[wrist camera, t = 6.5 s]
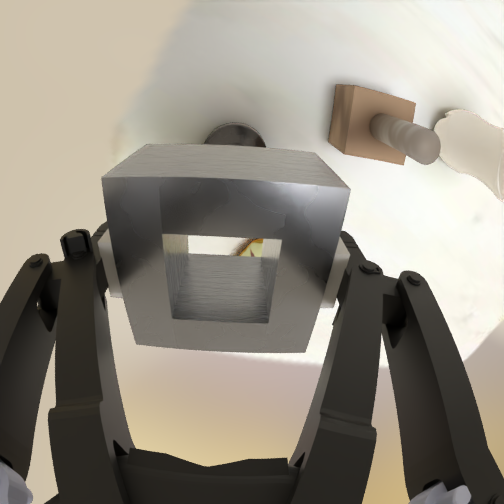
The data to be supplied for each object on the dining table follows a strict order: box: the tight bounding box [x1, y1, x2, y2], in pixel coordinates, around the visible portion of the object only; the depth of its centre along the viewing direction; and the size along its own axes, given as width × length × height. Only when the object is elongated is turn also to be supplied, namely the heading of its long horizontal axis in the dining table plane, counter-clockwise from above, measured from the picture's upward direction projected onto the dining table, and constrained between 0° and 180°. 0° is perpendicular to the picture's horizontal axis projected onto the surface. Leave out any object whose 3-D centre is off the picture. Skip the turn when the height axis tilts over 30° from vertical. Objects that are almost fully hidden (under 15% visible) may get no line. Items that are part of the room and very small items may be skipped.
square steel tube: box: [102, 144, 351, 353], centre depth 13 cm, size 8×8×5 cm
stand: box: [328, 84, 441, 165], centre depth 20 cm, size 6×6×12 cm
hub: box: [204, 123, 266, 148], centre depth 24 cm, size 6×6×6 cm
